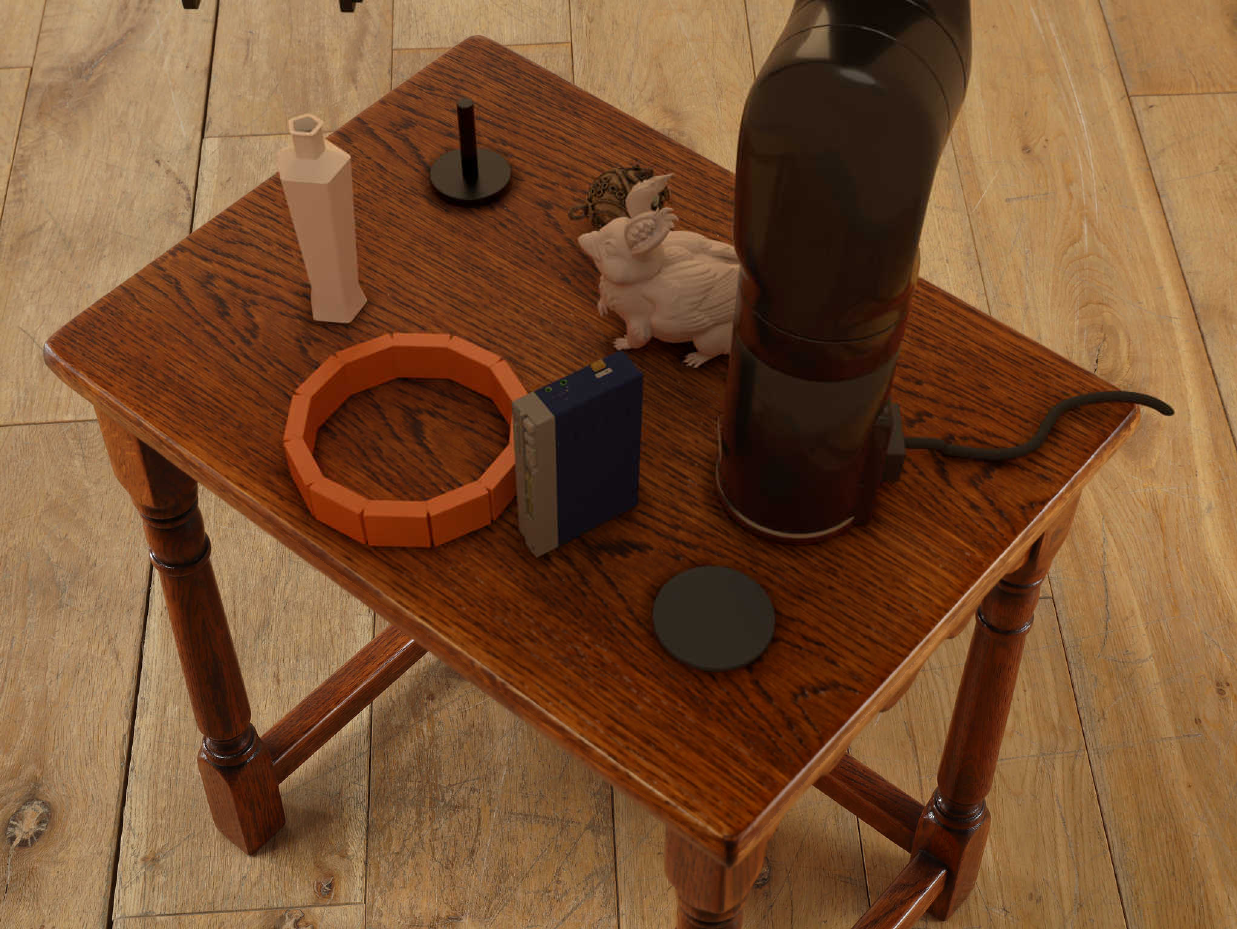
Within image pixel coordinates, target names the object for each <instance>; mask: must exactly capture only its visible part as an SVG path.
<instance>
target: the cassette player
mask: <svg viewBox="0 0 1237 929" xmlns="http://www.w3.org/2000/svg"><path fill="white" fill-rule="evenodd" d="M643 399H644V373H643V372H642V371H641V370H640V369H639V367H638V366H637V365H636V364H635V363H634V362H633V361H632V360H631V359H630V358H629V356H627V354H626V353H625V352H624V351H623V349H621V350H617V351H615V352H614V353H611V354H610V355H608V356H606V357H603V358H600V359H598V360H596V361H593V362H592V363H590V364H589V365H586V366H583V367H582V368H580V369H579V370H576V371H574V372H572V373H569V374H568V375H565V376H563V377H561V378H559V379H557V380H555V381H552V382H550V383H548V384H546V385H544V386H541V387H540V388H537V389H535V390H533V391H531V392H529V393H528V394H527V395H525V396H522V397H520V398H518V399H516V400H514V401H512V403H511V404H512V420H513V436H514V452H515V469H516V485H517V495H516V498H517V499H516V501H517V516H518V531H519V532H520V534H521V535H522V536H523V538H524V540H525V542H524V543H525V545H526V547H527V548H528V550H530V552H531V553H532V554H533V556H534V557H535V558H536V559H537V558H539V557H542V556H543V555H545V554H547V553H549V552H550V551H552V550H555V549H557V548H558V547H561V546H562V545H564V544H567V543H569V542H570V541H572V540H574V539H575V538H578V537H580V536H582V535H583V534H585V533H587V532H589V531H592V530H593V529H595V528H597V527H599V526H601V525H602V524H603V525H604V524H605V523H607V522H608V521H610V520H612V519H614V518H616V517H619V516H620V515H622V514H624V513H626V512H628V511H630V510H631V509H634V508H636V507H637V506H638V505H639V495H640V493H639V491H640V472H641V471H640V468H641V446H642V426H643V424H642V423H643Z"/></svg>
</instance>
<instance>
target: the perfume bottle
mask: <svg viewBox="0 0 1237 929" xmlns="http://www.w3.org/2000/svg"><path fill="white" fill-rule="evenodd" d="M287 124H288V132H289V134H290V135H291V138H292V142H293V144H292V145H289V146H287V147H283V148H280V149H278V150H277V151H276V152H277V153H276V154H277V163H278V171H279V179H280V182H281V186H282V189H283V193H284V196H285V200H286V203H287V207H288V210H289V214H290V217H291V221H292V224H293V228H294V231H295V236H296V238H297V243H298V245H299V249H300V252H301V256H302V259H303V263H304V266H305V267H304V268H305V270H306V273H307V276H308V280H309V283H310V288H311V293H310V302H311V303H310V304H311V312H312V318H313V320H314V321H318V322H327V323H328V322H330V323H341V324H349V323H351V322H353V321H354V319H355V317H357V315H358V314H359V312H360V311H361V310H362V308H363V307H364V306H365V305H366V303H367V302H368V299H367V296H366V295H365V293H364V292H363V291H364V290H363V289H362V288H361V286H360V282H359V270H358V269H359V268H358V253H357V237H356V236H357V235H356V222H355V206H354V192H353V191H354V190H353V187H354V186H353V174H352V158H351V157H352V156H351V155H350V154H349V153H347V152H346V151H345V150H344V149H342V148H340V147H339V146H337V145H335V144H334V143H332V142H330V141H329V140H327V139H326V138H325V137H324V130H323V126H324V125H325V122H324V121H323V120H322V119H320V118H319V117H317V116H315V115H314V114H312V113H304V114H301V115H298V116H295V117H292V118H290V119H288V121H287Z"/></svg>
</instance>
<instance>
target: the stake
mask: <svg viewBox="0 0 1237 929" xmlns="http://www.w3.org/2000/svg"><path fill="white" fill-rule="evenodd" d="M456 114H457V115H456V116H457V126H458V127H457V128H458V129H457V130H458V140H459V148H455V149H452V150H449V151H447V152H445V153H443V154H441V155H440V156H439V157H438V158H437V159H436V160H434V162H433V163H432V165H431V166H430V169H429V176H428V178H429V184H430V185H429V186H430V188H431V191H432V193H433V194H434V195H435V196H436V197H437V198H438V199H439V200H441V201H442V202H444V203H446V204H448V205H451V206H454V207H459V208H469V209H471V208H479V207H484V206H488V205H491V204H493V203H495V202H497V201H499V200H501V199H502V198H503V197H504V196H506V194H507V193H508V191H509V190H510V188H511V186H512V182H513V177H512V176H513V172H512V167H511V165H510V163H509V161H508V160H507V159H506V158H505V157H504V156H503V155H502V154H500V153H499V152H496V151H495V150H492V149H489V148H485V147H480V146H479V147H478V145H477V144H478V143H477V130H476V117H475V116H476V115H475V103H474V101H473V100H472V99H471V98H469V97H462V98H459V99H458V100H457V101H456Z"/></svg>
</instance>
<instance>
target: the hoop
mask: <svg viewBox="0 0 1237 929" xmlns="http://www.w3.org/2000/svg"><path fill="white" fill-rule="evenodd" d="M398 378H403V379H405V378H406V379H408V378H411V379H441V380H443V379H445V380H451V381H453V382H455V383H458V384H459V385H462V386H464V387H466V388H468V389H470V390H472V391H474V392H475V393H478V394H480V395H483V396H485V397H487V398H489V399H491V400H492V401H493V403H494V405H495V406H496V408H497V409H498V411H499V412H500V414H501V415H502V417H503V418H504V420H505V421H506V423H507V425H508V426H509V440H508V444H507V446H505V448H504V449H503V450H502V452H500V454H499V455H498V456H497V457H496V458H495V460H494V461H493V462H492V463H491V464H490V466H488V468H487V469H486V470H485V471H484V472H483V474H481V476H480V477H479V478H478V479H477V480H474V481H472V482H469V483H467V484H464V485H462V486H460V487H457V488H455V489H453V490H450V491H448V492H445V493H443V494H440V495H437V496H435V497H433V498H430V499H428V500H425V501H423V500H421V501H420V500H388V499H387V500H385V499H382V500H381V499H368V498H366V497H364V496H362V495H360V494H358V493H356V492H354V491H353V490H350V489H348V488H346V487H345V486H343V485H341V484H339V483H337V482H335V481H333V480H331V479H329V478H327V477H325V476H324V474H323V473H322V471H321V468H320V467H319V466H318V464H317V462H316V460H315V457H314V456H313V455H314V449H315V446H316V445H315V444H316V440H317V435H318V430H319V428H320V427H321V426H322V425H323V424H324V423H325V422H326V421H327V420H328V419H329V418H330V417H331V416H332V415H333V414H334V413H335V412H336V411H337V410H338V409H340V407H341V406H342V405H343V404H344V402H346V401H347V400H348V399H349V398H350V397H351V396H352V395H353V396H354V395H356V394H358V393H360V392H363V391H366V390H369V389H371V388H374V387H376V386H380V385H382V384H384V383H387V382H390V381H393V380H396V379H398ZM527 394H529V393H528V391H527V390H526V389H525V387H524V386H523V384H522V383H521V381H520V379H519V378H518V377H517V375H516V374H515V372H514V370H512V367H511V366H510V365H509V363H508V362H507V360H505V359H503V357H502V356H500V355H499V354H497V353H494V352H492V351H490V350H488V349H486V348H483V347H482V346H479V345H476V344H475V343H473V342H470V341H468V340H466V339H463V338H461V337H460V336H457V335H453V336H451V334H449V333H418V332H416V333H415V332H411V333H410V332H393V333H392V336H391V335H390V333H386V334H382V335H381V336H377V337H374V338H372V339H370V340H367V341H364V342H361V343H358V344H355V345H352V346H350V347H347V348H345V349H342V350H338V351H336V352H335V353H334V355H332V354H331V355H330V356H329V357H327V358H326V359H325V361H324V362H323V363H322V364H321V365H319V366H318V367H317V369H315V371H313V373H312V374H310V376H308V377H307V378H306V379H305V380H304V381H303V382H302V383H301V384H300V385H299V386H298V387H297V388H296V389H295V390H294V394H293V395H292V396H291V400H290V405H289V409H288V414H287V418H286V424H285V428H284V433H283V436H282V441H283V442H282V443H283V444H282V445H283V448H284V452H285V456H286V461H287V465H288V469H289V474H290V476H291V479H292V480H293V482H294V484H295V485H296V487H297V490H298V491H299V493H300V495H301V497H302V499H303V502H304V503H305V505H306V507H307V509H308V511H309V512H310V514H311V516H312V517H314V518H315V520H316V521H319V522H320V523H323V524H324V525H326V526H327V527H330V528H332V529H333V530H335V531H338V532H339V533H341V534H342V535H343V534H344V535H345V536H347V537H348V538H351V539H352V540H355V541H356V542H358V543H360V544H362V545H366V544H367V543H368V546H369V547H397V548H398V547H400V548H401V547H403V548H431V547H432V544H433V546H434V547H438V546H441V545H444V544H446V543H448V542H451V541H453V540H455V539H458V538H460V537H462V536H465V535H467V534H470V533H472V532H474V531H477V530H479V529H482V528H484V527H487V526H490V525H491V524H492V521H494V522H495V521H496V520H497V519H498V518H499V517H500V515H501V514H502V513H503V512H504V510H506V508H507V507H508V506H509V505H510V503H511V502H512V501H513V500H514V498H515V497H517V485H516V469H515V452H514V436H513V420H512V404H511V403H512V401H514V400H516V399H518V398H520V397H522V396H525V395H527Z"/></svg>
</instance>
